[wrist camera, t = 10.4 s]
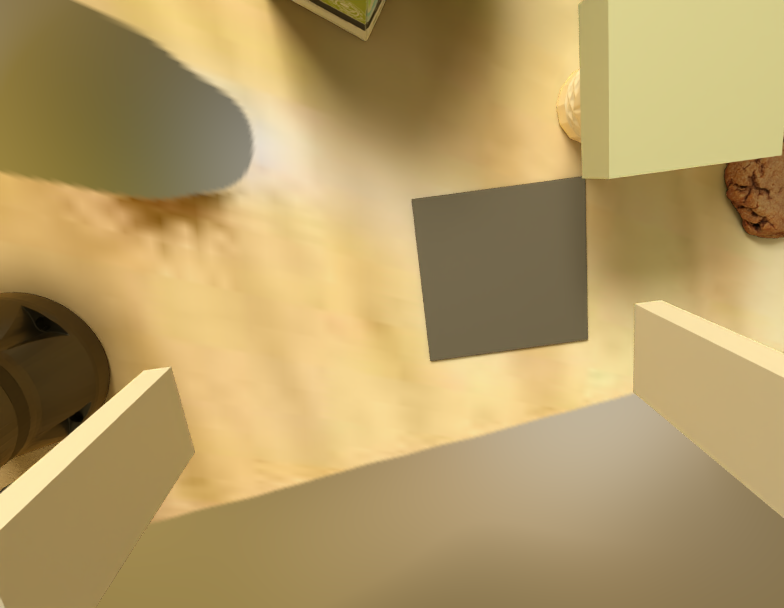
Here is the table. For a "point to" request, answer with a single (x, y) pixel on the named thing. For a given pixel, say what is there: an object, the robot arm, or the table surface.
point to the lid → (679, 84)
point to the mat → (503, 267)
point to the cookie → (758, 194)
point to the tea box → (347, 14)
